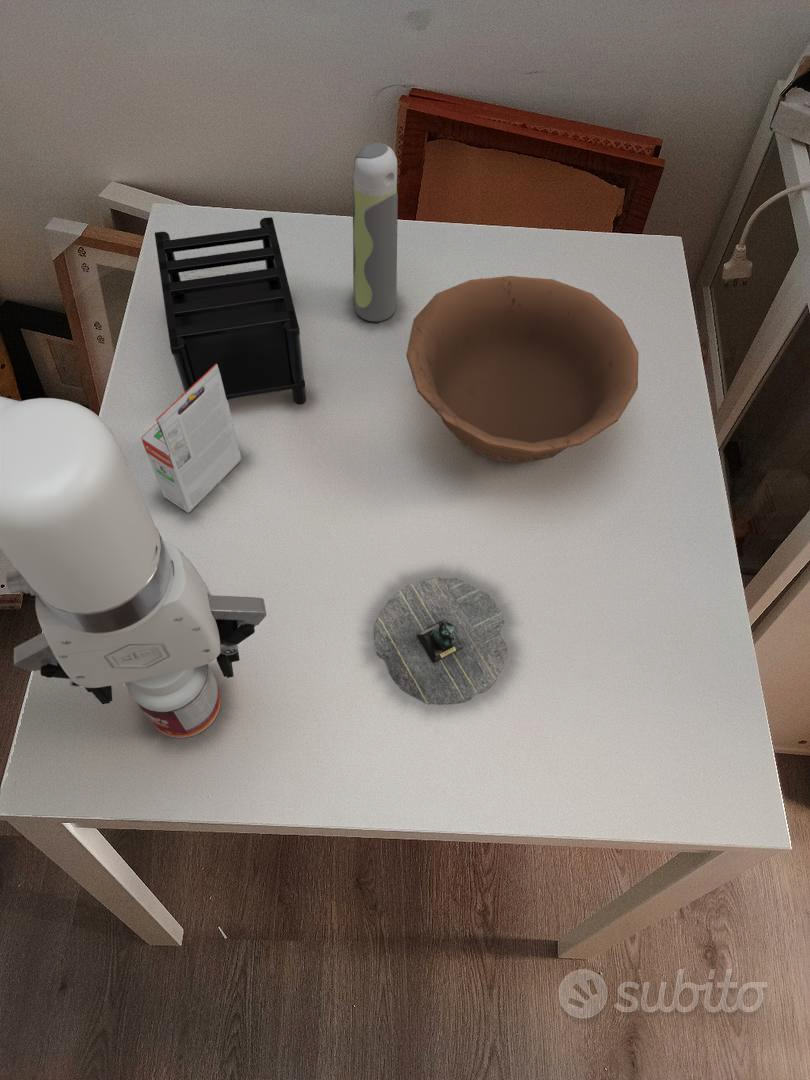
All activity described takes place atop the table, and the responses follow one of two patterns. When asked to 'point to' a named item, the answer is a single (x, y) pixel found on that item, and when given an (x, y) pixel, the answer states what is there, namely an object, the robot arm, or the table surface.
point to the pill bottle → (179, 700)
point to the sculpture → (441, 640)
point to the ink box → (193, 443)
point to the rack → (233, 315)
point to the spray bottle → (375, 232)
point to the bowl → (522, 365)
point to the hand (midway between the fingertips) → (167, 672)
